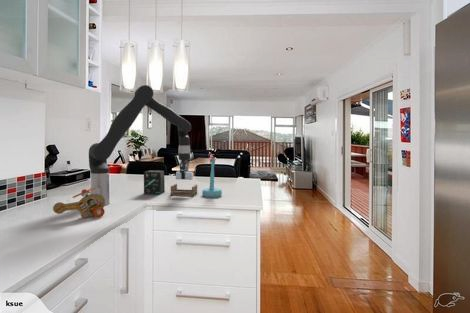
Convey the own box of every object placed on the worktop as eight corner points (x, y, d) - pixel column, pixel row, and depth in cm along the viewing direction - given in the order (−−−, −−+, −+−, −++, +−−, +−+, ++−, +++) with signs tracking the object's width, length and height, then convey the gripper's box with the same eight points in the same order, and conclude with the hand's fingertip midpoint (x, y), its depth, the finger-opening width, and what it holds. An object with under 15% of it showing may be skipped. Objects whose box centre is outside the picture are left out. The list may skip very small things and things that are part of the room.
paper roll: (193, 179, 188) (193, 171, 188) (191, 180, 183) (191, 172, 183) (177, 178, 189) (177, 171, 189) (175, 179, 184) (175, 171, 184)
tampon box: (164, 192, 194) (164, 170, 193) (159, 194, 184) (159, 172, 184) (149, 191, 195) (149, 170, 194) (143, 194, 186) (143, 171, 185)
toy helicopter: (107, 216, 133) (106, 187, 132) (54, 224, 119) (53, 192, 119) (102, 212, 139) (102, 184, 138) (52, 220, 126) (51, 189, 125)
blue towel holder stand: (225, 195, 184) (226, 157, 183) (211, 198, 175) (212, 158, 174) (212, 193, 193) (212, 156, 191) (198, 195, 184) (198, 156, 182)
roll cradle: (193, 196, 181) (193, 186, 181) (170, 195, 182) (170, 186, 182) (197, 193, 191) (197, 184, 191) (175, 192, 192) (175, 183, 192)
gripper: (181, 151, 192) (181, 176, 194) (175, 152, 178) (175, 179, 179) (192, 152, 192) (192, 177, 193) (187, 153, 178) (187, 180, 179)
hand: (184, 178), depth 186 cm, fingers closed on paper roll, 5 cm apart
